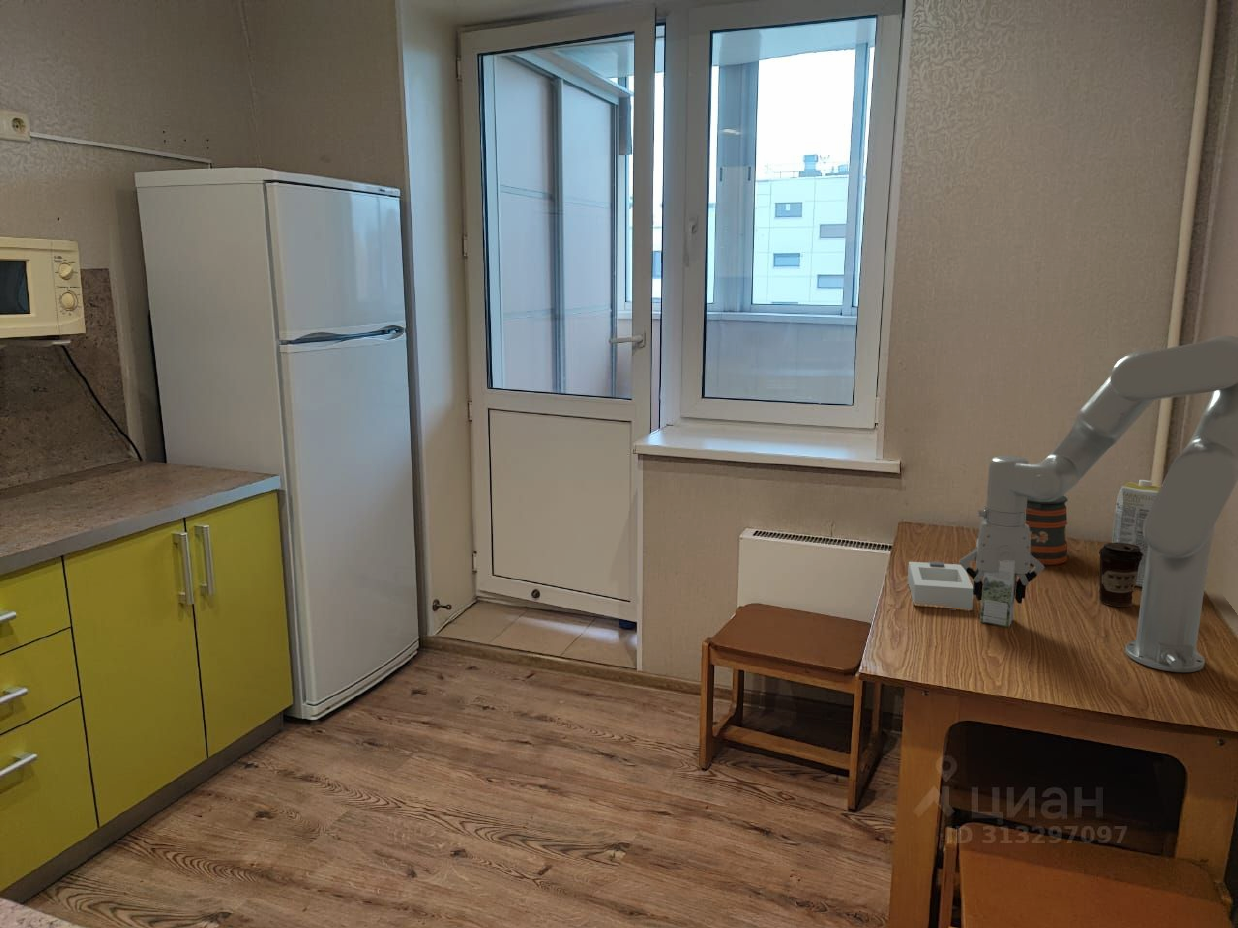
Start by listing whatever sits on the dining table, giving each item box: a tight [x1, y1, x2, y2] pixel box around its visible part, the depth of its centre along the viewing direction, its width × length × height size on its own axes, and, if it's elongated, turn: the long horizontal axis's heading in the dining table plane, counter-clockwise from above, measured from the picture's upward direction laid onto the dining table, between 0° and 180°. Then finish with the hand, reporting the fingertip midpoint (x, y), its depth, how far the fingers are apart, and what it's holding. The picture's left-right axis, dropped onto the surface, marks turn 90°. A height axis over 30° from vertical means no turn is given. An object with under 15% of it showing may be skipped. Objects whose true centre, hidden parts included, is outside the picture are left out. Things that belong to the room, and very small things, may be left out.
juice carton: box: [1111, 479, 1161, 587], centre depth 201 cm, size 9×8×24 cm
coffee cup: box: [1098, 542, 1143, 608], centre depth 189 cm, size 9×8×13 cm
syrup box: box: [979, 560, 1018, 628], centre depth 180 cm, size 6×6×14 cm
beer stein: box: [1025, 494, 1069, 566], centre depth 222 cm, size 19×15×20 cm
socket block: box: [907, 560, 975, 610], centre depth 195 cm, size 16×12×6 cm
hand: (998, 599), depth 180 cm, fingers open, 7 cm apart
